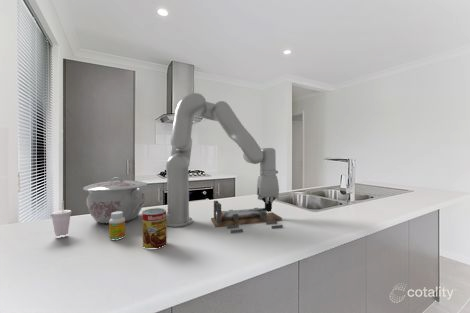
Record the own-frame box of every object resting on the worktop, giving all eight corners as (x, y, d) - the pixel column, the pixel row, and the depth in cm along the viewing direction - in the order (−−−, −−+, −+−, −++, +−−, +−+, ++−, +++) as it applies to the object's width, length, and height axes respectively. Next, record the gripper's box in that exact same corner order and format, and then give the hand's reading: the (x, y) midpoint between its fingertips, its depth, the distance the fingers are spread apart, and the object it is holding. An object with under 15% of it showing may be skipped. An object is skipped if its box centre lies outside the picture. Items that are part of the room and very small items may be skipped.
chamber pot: (88, 216, 115) (87, 175, 115) (146, 209, 127) (145, 173, 126) (76, 234, 90) (75, 182, 89) (150, 224, 101) (149, 178, 101)
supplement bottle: (109, 242, 82) (108, 215, 81) (109, 237, 86) (109, 211, 86) (125, 239, 84) (125, 213, 84) (125, 234, 89) (124, 210, 89)
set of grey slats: (231, 233, 90) (231, 230, 90) (227, 228, 95) (227, 226, 95) (282, 227, 96) (282, 225, 96) (276, 223, 102) (276, 221, 102)
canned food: (152, 251, 73) (152, 215, 73) (137, 246, 78) (137, 212, 77) (171, 243, 80) (171, 210, 80) (156, 239, 84) (156, 207, 84)
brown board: (215, 227, 97) (215, 205, 97) (211, 220, 107) (211, 200, 106) (282, 220, 106) (282, 200, 106) (272, 214, 116) (272, 196, 116)
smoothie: (75, 234, 89) (75, 199, 89) (58, 240, 83) (57, 203, 83) (64, 232, 91) (63, 198, 91) (47, 238, 85) (46, 201, 85)
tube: (217, 221, 100) (217, 212, 101) (215, 220, 104) (215, 211, 104) (267, 216, 107) (266, 208, 107) (263, 215, 111) (263, 207, 111)
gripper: (278, 172, 115) (278, 207, 115) (250, 173, 111) (251, 210, 111) (285, 173, 108) (285, 211, 108) (256, 174, 103) (257, 214, 104)
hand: (268, 210), depth 110 cm, fingers closed
